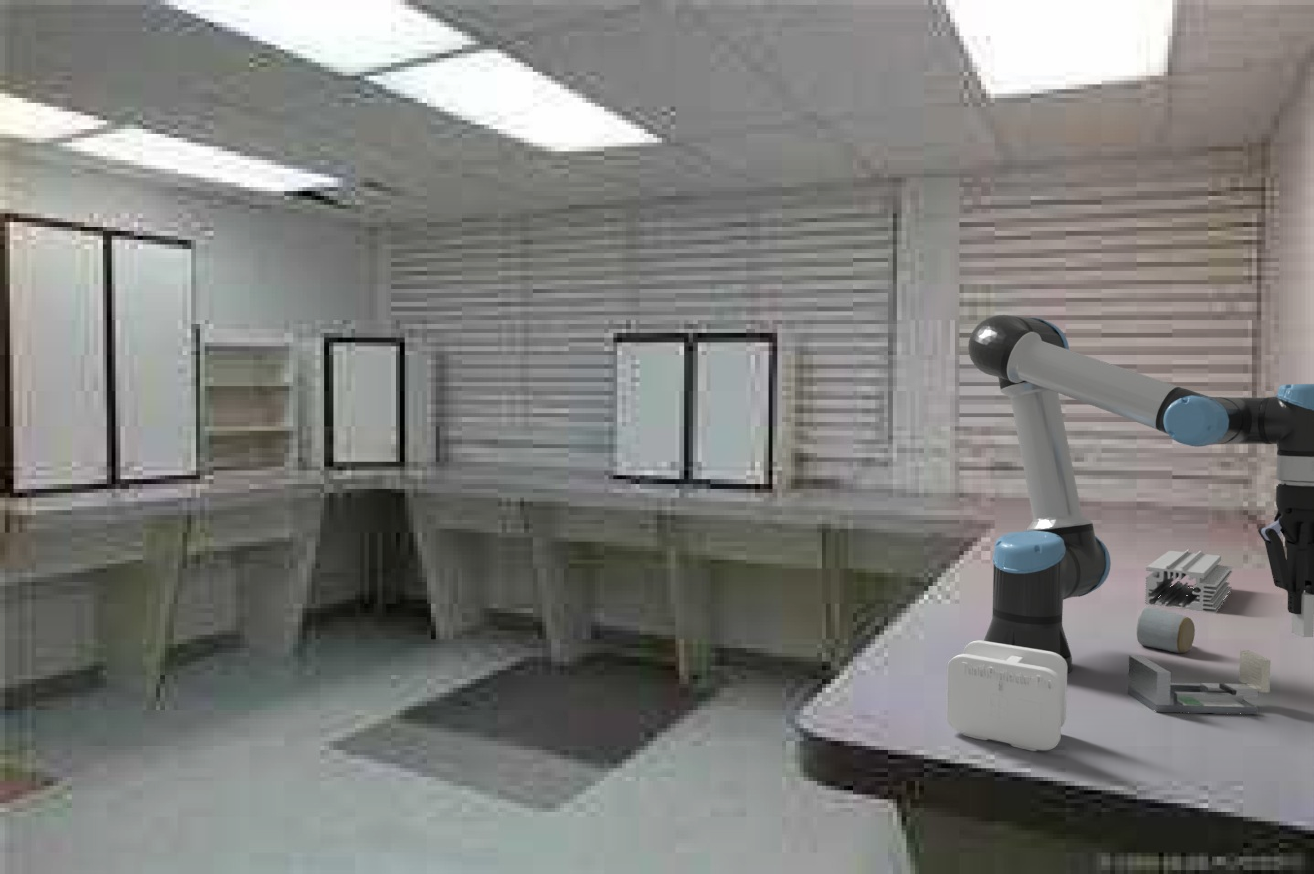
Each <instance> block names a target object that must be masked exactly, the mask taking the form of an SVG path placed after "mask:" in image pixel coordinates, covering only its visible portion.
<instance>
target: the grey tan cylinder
mask: <svg viewBox="0 0 1314 874" xmlns="http://www.w3.org/2000/svg"><path fill="white" fill-rule="evenodd" d="M1195 631H1196V629H1195V623H1194V621H1193V620H1192V619H1191V618H1190V617H1187V616H1186V615H1183V614H1180V613H1176V612H1172V611H1167V610H1164V609H1161V608H1156V607H1153V606H1146V607H1143V609H1142V610H1141V612H1140V614H1139V616H1138V618H1137V626H1136V640H1137V642H1138V643H1139V645H1141V646H1143V647H1149V648H1152V649H1156V648H1157V650H1161V649H1162V650H1163V651H1167V652H1171V653H1175V654H1176V653H1177V654H1185V653H1188V651H1190V649H1191V648H1192V646H1193V643H1194V639H1195ZM1162 650H1161V651H1162Z"/></svg>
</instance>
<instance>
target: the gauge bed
mask: <svg viewBox="0 0 1314 874" xmlns="http://www.w3.org/2000/svg"><path fill="white" fill-rule="evenodd" d="M1171 675H1172V672H1170V671H1169V670H1167V669H1165V668H1164V667H1162V666H1160V665H1158V664H1157V663H1155V662H1153V661H1152V660H1149V659H1148V658H1146V657H1144V656H1143V655H1128V678H1127V679H1128V680H1127V681H1128V683H1127V694H1129V696H1131V697H1133V698H1134V699H1136V700H1137V701H1139V702H1140V703H1142V704H1143V705H1145V706H1146V707H1147V706H1148V708H1149V709H1151V710H1152V711H1153V710H1155V711H1156V712H1155V711H1154V712H1155V713H1160V712H1180V713H1179V714H1197V713H1215V714H1214V715H1235V714H1240V713H1241V714H1257V715H1258V710H1259V707H1258V706H1256V705H1255V704H1252V703H1250V702H1249V701H1246V700H1245V698H1244V695H1242V694H1240V693H1236V695H1231V694H1230V693H1208V692H1200V683H1189V682H1188V683H1186V682H1183V683H1181V682H1171V680H1172V676H1171ZM1157 711H1158V712H1157ZM1182 712H1183V713H1182ZM1185 712H1186V713H1185ZM1188 712H1189V713H1188ZM1227 713H1228V714H1227Z"/></svg>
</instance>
